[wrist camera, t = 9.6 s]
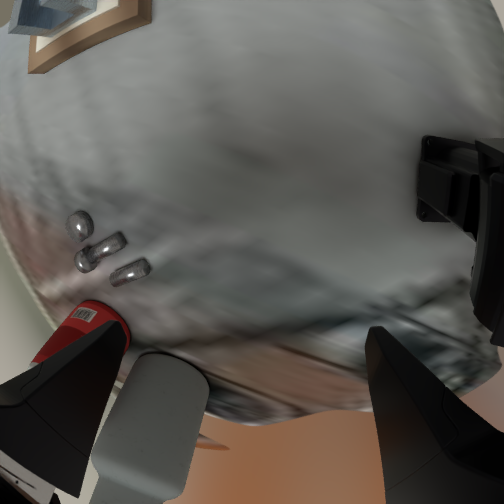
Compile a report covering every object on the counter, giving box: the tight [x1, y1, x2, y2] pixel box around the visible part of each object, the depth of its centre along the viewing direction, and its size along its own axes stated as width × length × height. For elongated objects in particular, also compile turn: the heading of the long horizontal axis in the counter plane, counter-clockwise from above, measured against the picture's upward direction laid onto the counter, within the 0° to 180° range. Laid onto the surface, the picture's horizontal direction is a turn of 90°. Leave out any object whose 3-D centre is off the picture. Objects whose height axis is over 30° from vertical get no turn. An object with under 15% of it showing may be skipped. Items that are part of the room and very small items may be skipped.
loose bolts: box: [66, 211, 150, 287], centre depth 21 cm, size 6×8×2 cm
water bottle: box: [89, 354, 209, 504], centre depth 18 cm, size 10×10×28 cm
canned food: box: [28, 301, 130, 370], centre depth 22 cm, size 8×8×11 cm
